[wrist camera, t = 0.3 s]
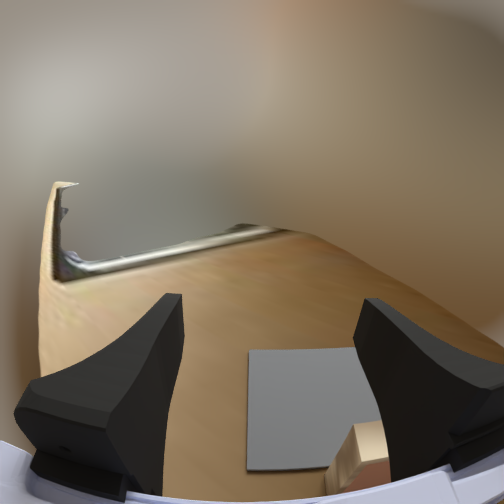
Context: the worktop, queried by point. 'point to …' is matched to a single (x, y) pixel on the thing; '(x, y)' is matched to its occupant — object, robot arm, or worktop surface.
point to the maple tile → (360, 460)
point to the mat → (304, 406)
